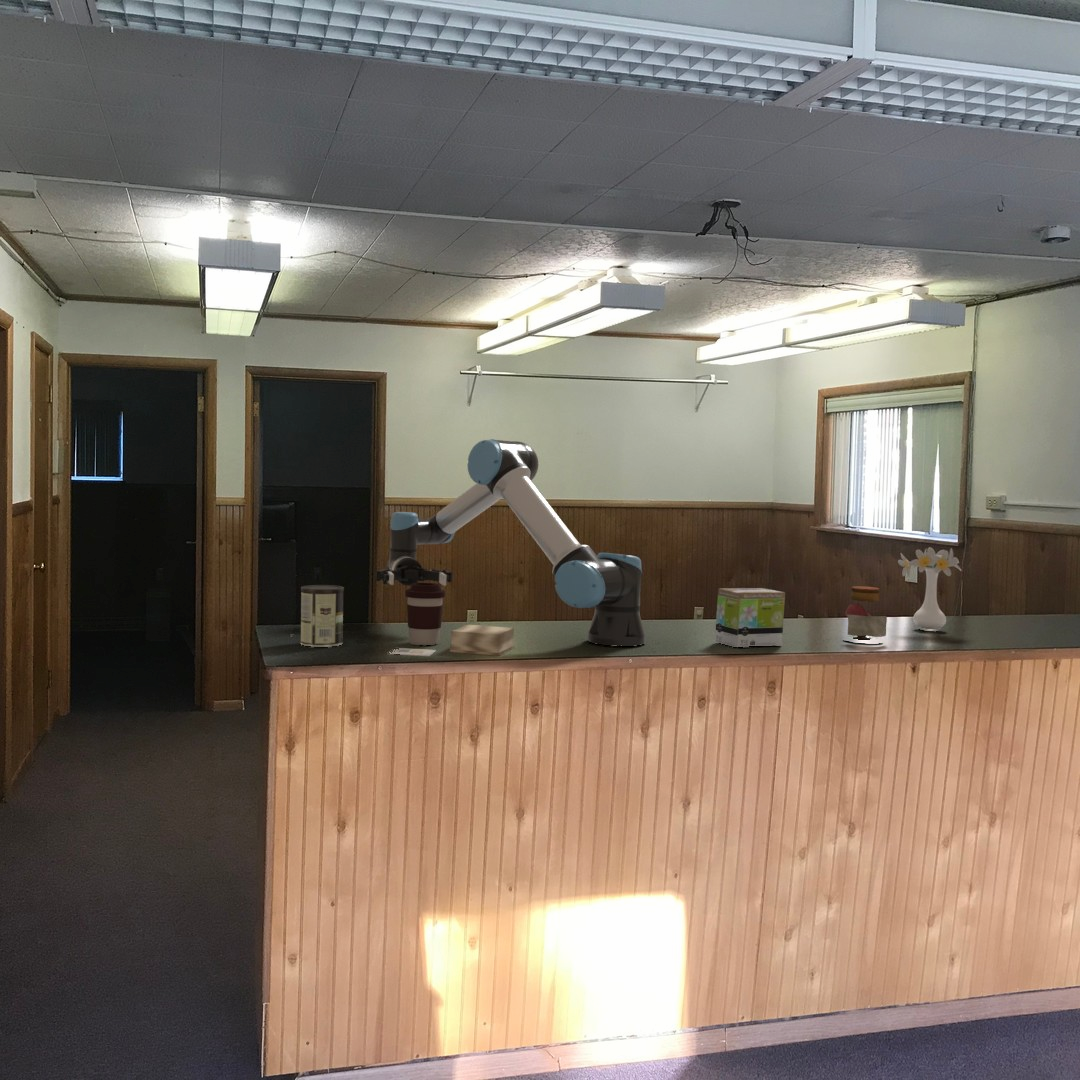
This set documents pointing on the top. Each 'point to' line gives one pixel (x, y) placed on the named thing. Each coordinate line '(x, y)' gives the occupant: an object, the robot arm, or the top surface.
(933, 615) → the flower vase
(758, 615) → the tea box
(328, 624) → the coffee can
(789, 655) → the top surface
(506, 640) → the tan flat block
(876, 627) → the brown red grey stack
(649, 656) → the top surface
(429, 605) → the coffee cup
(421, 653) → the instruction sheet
